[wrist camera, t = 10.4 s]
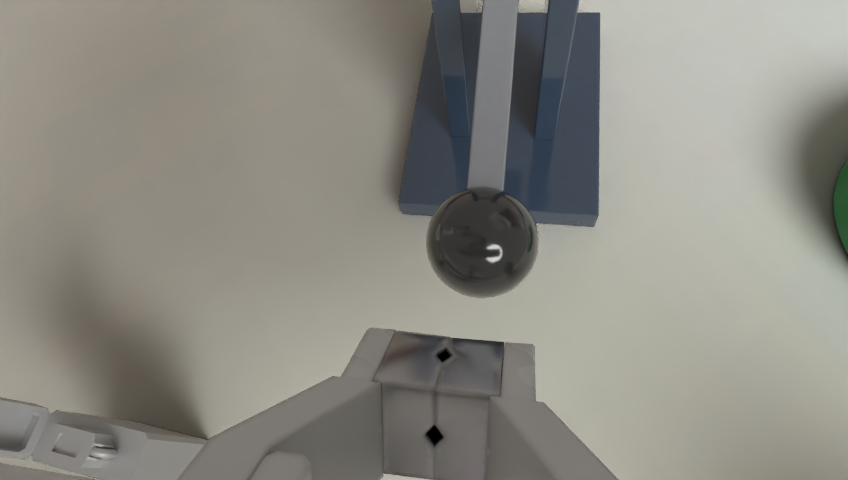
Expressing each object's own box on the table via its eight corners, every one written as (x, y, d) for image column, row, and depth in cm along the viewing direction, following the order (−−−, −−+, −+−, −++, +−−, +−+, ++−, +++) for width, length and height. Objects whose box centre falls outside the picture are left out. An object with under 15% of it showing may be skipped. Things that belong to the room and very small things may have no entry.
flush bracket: (594, 227, 24) (686, -7, 12) (402, 214, 25) (321, -4, 14) (596, 29, 28) (664, -276, 17) (434, 28, 30) (394, -251, 18)
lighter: (211, 440, 22) (70, 424, 15) (195, 484, 21) (40, 491, 14) (71, 406, 23) (-119, 376, 16) (53, 446, 23) (-154, 434, 16)
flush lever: (532, 302, 17) (537, 303, 14) (430, 293, 18) (411, 292, 14) (560, -97, 18) (572, -184, 15) (465, -93, 19) (455, -176, 16)
